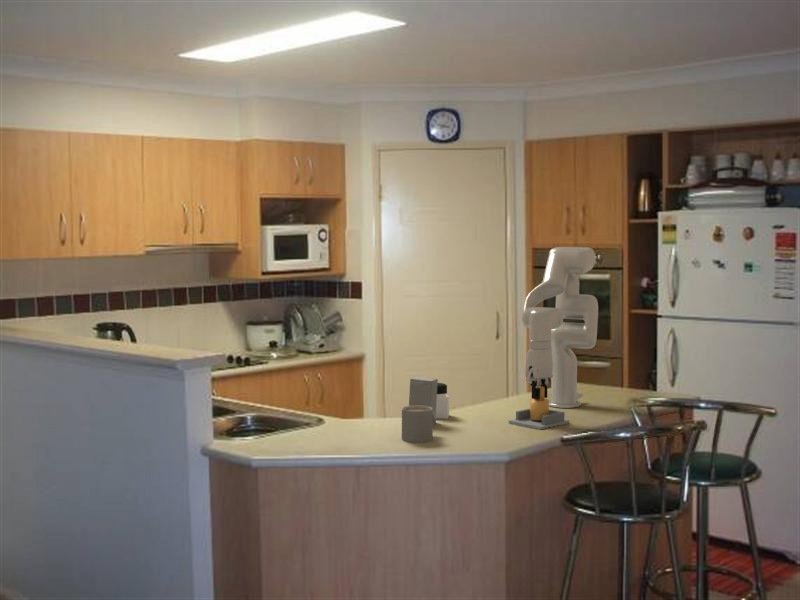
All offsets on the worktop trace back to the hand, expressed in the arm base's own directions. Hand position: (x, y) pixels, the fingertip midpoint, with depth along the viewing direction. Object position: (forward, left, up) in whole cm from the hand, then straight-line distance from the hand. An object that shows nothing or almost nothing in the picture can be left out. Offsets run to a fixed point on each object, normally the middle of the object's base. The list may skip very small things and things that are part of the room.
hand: (539, 397), depth 347 cm
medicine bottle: (+17, -32, -9) cm, 37 cm away
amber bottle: (0, 0, -7) cm, 7 cm away
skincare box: (+29, -28, -9) cm, 41 cm away
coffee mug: (+46, -12, -9) cm, 49 cm away
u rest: (0, 0, -9) cm, 9 cm away
